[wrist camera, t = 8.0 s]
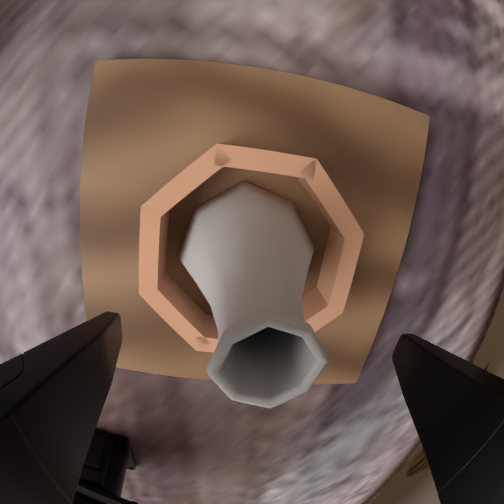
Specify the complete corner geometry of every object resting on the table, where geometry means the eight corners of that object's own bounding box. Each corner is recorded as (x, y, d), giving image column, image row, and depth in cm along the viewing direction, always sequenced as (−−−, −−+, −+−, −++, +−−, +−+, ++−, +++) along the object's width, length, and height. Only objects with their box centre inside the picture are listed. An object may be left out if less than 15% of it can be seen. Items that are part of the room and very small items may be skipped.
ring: (318, 336, 20) (328, 358, 17) (148, 321, 18) (140, 343, 16) (358, 167, 16) (377, 171, 14) (158, 138, 15) (146, 137, 13)
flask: (241, 155, 15) (262, 169, 6) (334, 242, 18) (430, 340, 8) (156, 255, 17) (92, 373, 8) (251, 326, 19) (271, 462, 10)
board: (351, 373, 23) (355, 383, 22) (98, 353, 20) (93, 362, 19) (419, 116, 16) (429, 116, 15) (103, 65, 14) (95, 60, 13)
